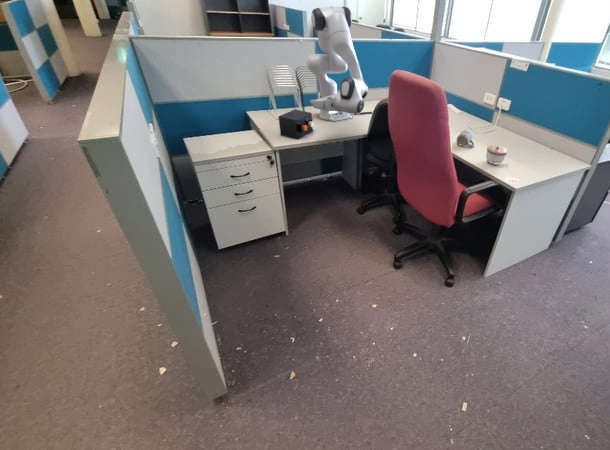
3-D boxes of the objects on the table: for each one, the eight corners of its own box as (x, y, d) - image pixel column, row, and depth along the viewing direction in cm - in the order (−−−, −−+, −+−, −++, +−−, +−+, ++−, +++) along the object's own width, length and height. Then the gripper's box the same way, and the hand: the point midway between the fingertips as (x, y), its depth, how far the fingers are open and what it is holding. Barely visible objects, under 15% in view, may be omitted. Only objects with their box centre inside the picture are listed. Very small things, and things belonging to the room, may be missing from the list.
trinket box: (485, 156, 190) (489, 141, 184) (504, 161, 187) (509, 145, 181) (482, 164, 182) (486, 148, 176) (502, 168, 179) (507, 152, 173)
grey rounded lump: (454, 144, 201) (457, 132, 196) (459, 140, 207) (461, 129, 202) (471, 149, 197) (474, 137, 193) (475, 145, 203) (478, 133, 199)
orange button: (304, 129, 194) (304, 123, 192) (307, 129, 194) (307, 124, 192) (301, 130, 192) (301, 125, 190) (304, 131, 191) (304, 126, 189)
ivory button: (311, 125, 199) (311, 120, 197) (314, 126, 199) (313, 121, 197) (308, 127, 197) (308, 122, 195) (311, 127, 196) (310, 122, 194)
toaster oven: (298, 126, 210) (297, 108, 203) (316, 130, 206) (315, 112, 199) (280, 135, 196) (278, 116, 189) (299, 139, 192) (297, 120, 185)
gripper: (346, 93, 188) (326, 91, 193) (325, 100, 172) (304, 97, 177) (346, 105, 191) (327, 102, 196) (326, 112, 175) (305, 109, 180)
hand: (316, 99), depth 186 cm, fingers open, 8 cm apart
